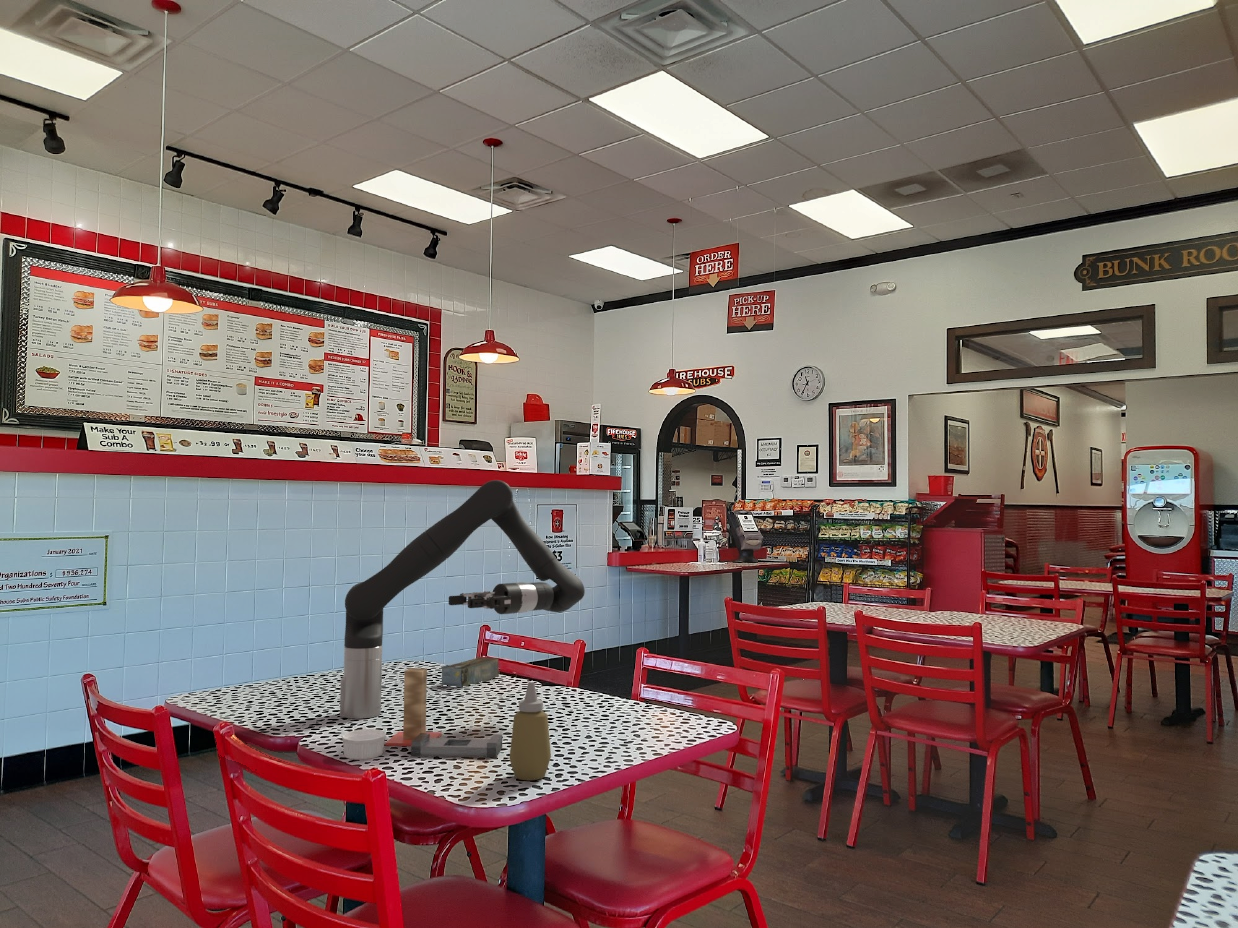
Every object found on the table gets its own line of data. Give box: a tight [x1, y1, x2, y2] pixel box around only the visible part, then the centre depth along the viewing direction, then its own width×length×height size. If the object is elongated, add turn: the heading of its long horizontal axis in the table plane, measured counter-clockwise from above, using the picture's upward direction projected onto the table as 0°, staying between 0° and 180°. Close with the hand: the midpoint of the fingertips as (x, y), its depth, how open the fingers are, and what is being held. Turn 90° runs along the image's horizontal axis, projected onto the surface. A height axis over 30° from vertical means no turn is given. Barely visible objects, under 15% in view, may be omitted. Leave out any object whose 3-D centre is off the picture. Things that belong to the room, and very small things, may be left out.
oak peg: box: [402, 667, 428, 740], centre depth 191 cm, size 4×4×15 cm
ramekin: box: [341, 728, 387, 761], centre depth 179 cm, size 9×9×4 cm
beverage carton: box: [441, 656, 500, 687], centre depth 258 cm, size 8×19×7 cm, turn 152°
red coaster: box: [384, 731, 443, 747], centre depth 191 cm, size 10×10×1 cm
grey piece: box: [410, 733, 503, 758], centre depth 181 cm, size 18×7×3 cm, turn 87°
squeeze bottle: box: [509, 681, 552, 781], centre depth 165 cm, size 8×8×18 cm
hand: (458, 602), depth 201 cm, fingers open, 8 cm apart
